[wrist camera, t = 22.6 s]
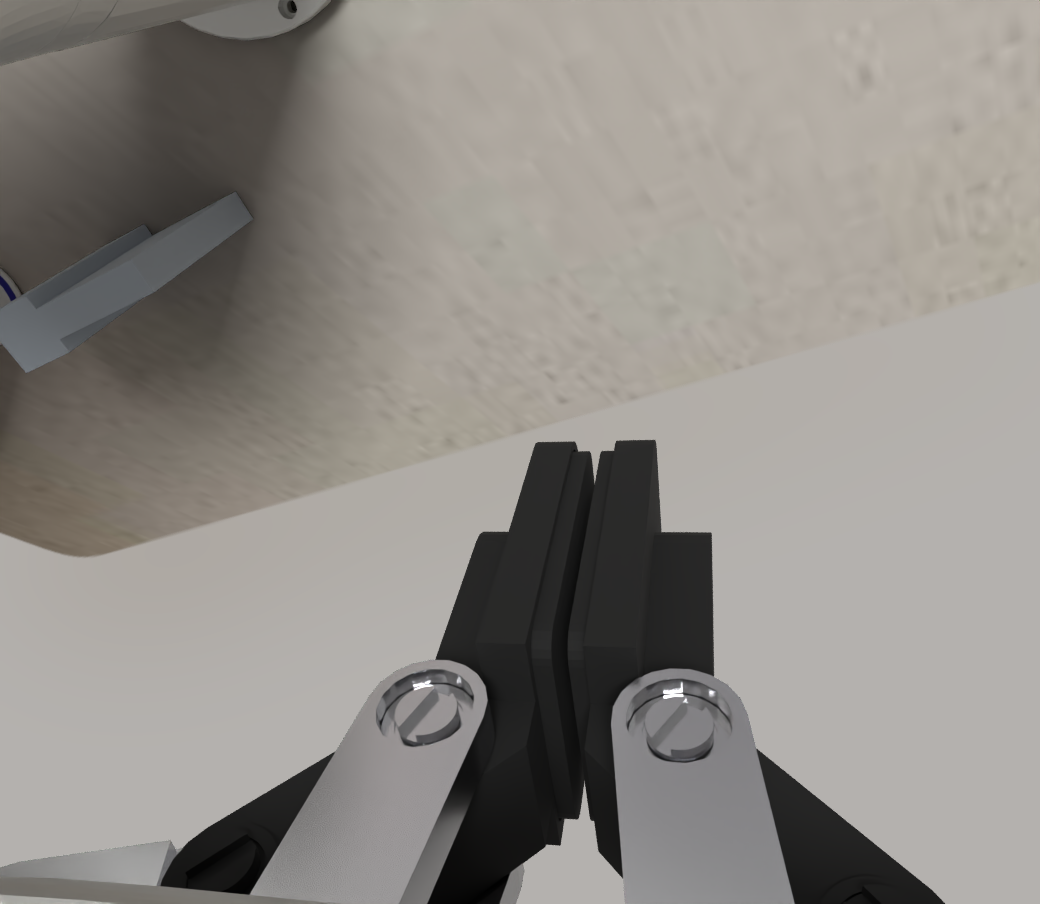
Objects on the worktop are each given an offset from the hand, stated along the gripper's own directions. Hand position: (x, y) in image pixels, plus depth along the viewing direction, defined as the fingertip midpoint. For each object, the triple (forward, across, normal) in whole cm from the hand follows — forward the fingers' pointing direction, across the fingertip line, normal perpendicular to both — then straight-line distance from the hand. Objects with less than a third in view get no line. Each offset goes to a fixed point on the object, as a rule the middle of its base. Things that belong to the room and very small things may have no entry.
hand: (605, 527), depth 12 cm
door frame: (+32, +37, +9) cm, 50 cm away
